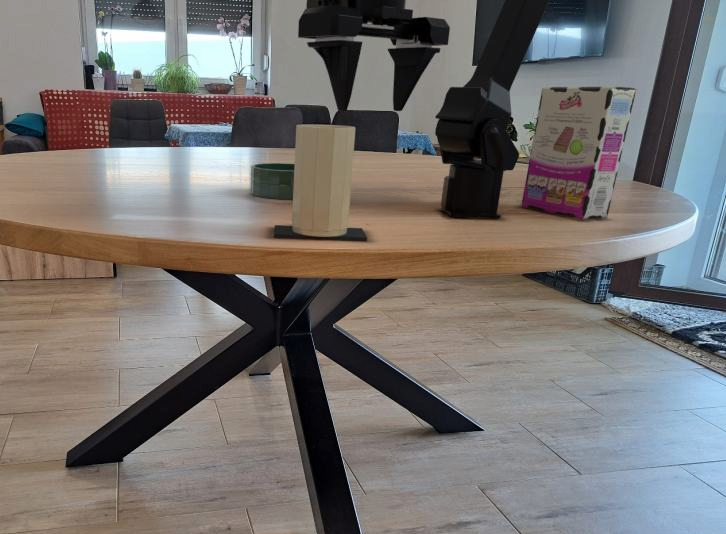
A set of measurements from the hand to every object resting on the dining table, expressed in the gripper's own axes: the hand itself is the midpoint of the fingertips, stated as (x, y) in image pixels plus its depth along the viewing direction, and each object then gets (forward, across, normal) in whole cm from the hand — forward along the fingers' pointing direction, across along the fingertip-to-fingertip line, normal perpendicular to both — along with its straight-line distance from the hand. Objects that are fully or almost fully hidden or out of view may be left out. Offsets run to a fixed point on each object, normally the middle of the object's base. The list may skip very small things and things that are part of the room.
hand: (370, 111), depth 74 cm
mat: (+13, +10, +3) cm, 17 cm away
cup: (+12, +10, +3) cm, 16 cm away
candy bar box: (+13, -30, +10) cm, 34 cm away
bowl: (+13, -2, -18) cm, 23 cm away
